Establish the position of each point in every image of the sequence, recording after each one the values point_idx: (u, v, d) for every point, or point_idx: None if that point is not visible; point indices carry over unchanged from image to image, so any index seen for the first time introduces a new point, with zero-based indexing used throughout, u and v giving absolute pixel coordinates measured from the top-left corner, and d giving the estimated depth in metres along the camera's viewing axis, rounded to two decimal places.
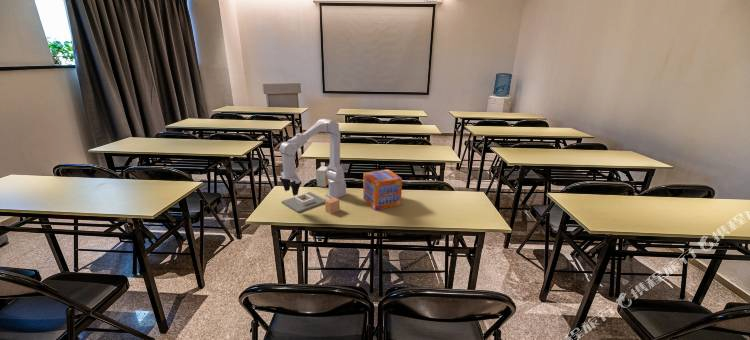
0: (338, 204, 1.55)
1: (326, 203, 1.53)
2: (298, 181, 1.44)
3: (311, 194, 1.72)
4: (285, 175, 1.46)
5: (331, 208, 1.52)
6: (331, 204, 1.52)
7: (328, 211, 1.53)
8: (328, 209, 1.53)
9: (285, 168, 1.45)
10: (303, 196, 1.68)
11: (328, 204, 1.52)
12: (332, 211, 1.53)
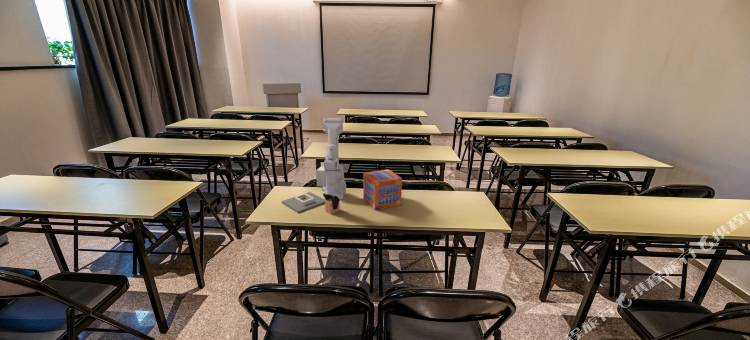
0: (338, 204, 1.55)
1: (326, 203, 1.53)
2: (341, 197, 1.48)
3: (311, 194, 1.72)
4: (328, 191, 1.50)
5: (331, 208, 1.52)
6: (331, 204, 1.52)
7: (328, 211, 1.53)
8: (328, 209, 1.53)
9: (328, 184, 1.48)
10: (303, 196, 1.68)
11: (328, 204, 1.52)
12: (332, 211, 1.53)
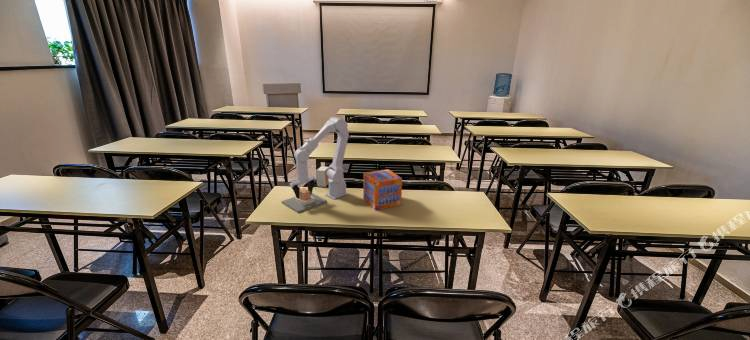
0: (303, 197, 1.60)
1: None
2: (290, 185, 1.56)
3: (311, 194, 1.72)
4: None
5: None
6: None
7: None
8: None
9: None
10: None
11: None
12: None
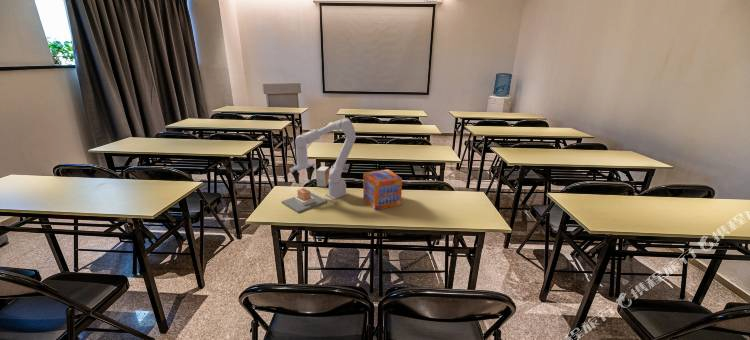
0: (303, 197, 1.60)
1: None
2: (290, 170, 1.60)
3: (311, 194, 1.72)
4: None
5: (298, 195, 1.63)
6: (298, 192, 1.63)
7: None
8: None
9: None
10: None
11: None
12: None
